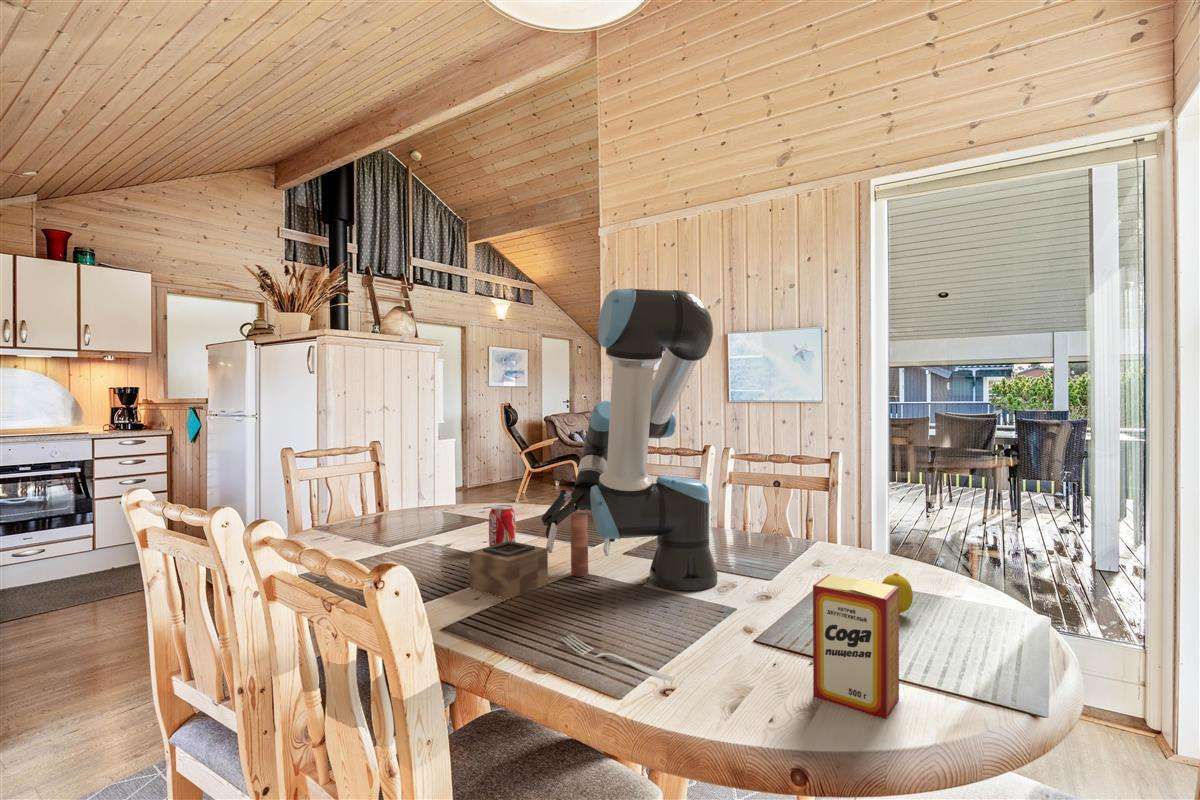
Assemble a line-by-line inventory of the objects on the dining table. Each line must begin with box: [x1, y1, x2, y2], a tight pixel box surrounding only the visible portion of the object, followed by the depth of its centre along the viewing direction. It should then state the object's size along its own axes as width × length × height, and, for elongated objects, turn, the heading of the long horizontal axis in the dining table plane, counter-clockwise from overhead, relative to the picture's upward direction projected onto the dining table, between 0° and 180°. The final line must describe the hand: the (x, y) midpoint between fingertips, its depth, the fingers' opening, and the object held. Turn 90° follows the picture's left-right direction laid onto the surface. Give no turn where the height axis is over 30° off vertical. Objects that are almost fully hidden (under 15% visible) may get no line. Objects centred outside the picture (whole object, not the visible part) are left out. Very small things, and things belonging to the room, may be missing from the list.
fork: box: [560, 633, 676, 682], centre depth 95 cm, size 3×24×2 cm, turn 52°
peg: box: [570, 512, 589, 578], centre depth 142 cm, size 4×4×14 cm
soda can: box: [488, 504, 517, 547], centre depth 163 cm, size 7×7×12 cm
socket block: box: [469, 541, 549, 600], centre depth 133 cm, size 12×12×9 cm
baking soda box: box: [812, 573, 900, 720], centre depth 84 cm, size 10×6×16 cm
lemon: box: [881, 572, 914, 615], centre depth 115 cm, size 6×6×8 cm
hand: (577, 551), depth 140 cm, fingers open, 13 cm apart
